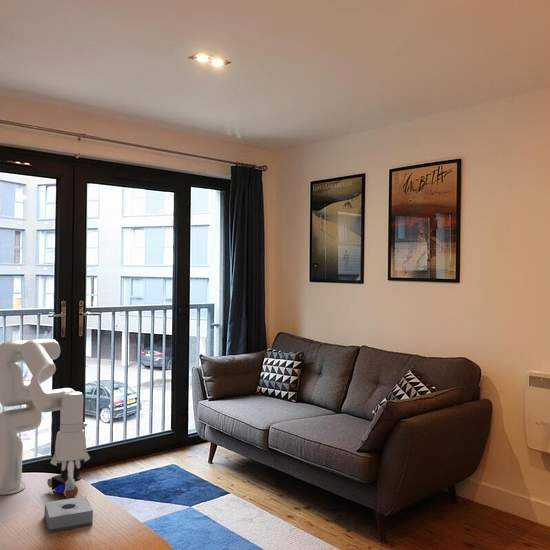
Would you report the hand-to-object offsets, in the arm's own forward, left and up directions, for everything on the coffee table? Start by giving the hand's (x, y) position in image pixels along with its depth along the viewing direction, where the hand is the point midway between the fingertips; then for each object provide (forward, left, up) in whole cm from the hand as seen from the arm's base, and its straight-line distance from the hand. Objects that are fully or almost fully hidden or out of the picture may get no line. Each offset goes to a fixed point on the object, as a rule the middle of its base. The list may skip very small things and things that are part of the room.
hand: (70, 479), depth 192 cm
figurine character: (-26, +2, -15) cm, 30 cm away
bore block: (0, 0, -15) cm, 15 cm away
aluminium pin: (0, 0, -3) cm, 3 cm away
